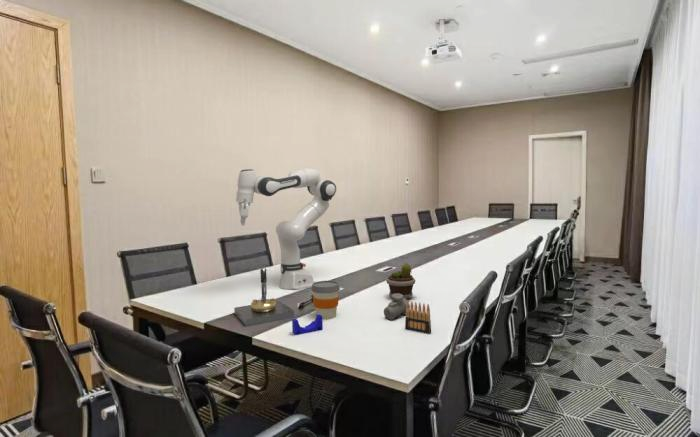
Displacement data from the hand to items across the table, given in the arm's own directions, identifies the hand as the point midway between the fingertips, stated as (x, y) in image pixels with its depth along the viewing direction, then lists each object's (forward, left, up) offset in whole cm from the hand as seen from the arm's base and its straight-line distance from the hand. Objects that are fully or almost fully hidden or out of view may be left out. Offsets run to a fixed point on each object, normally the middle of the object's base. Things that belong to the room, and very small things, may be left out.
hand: (242, 224), depth 213 cm
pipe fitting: (-48, +74, -40) cm, 96 cm away
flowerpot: (-68, +52, -40) cm, 94 cm away
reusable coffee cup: (-22, +56, -40) cm, 72 cm away
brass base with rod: (+1, +36, -36) cm, 51 cm away
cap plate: (+2, +39, -40) cm, 56 cm away
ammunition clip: (-45, +93, -40) cm, 110 cm away
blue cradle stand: (-7, +68, -40) cm, 79 cm away
